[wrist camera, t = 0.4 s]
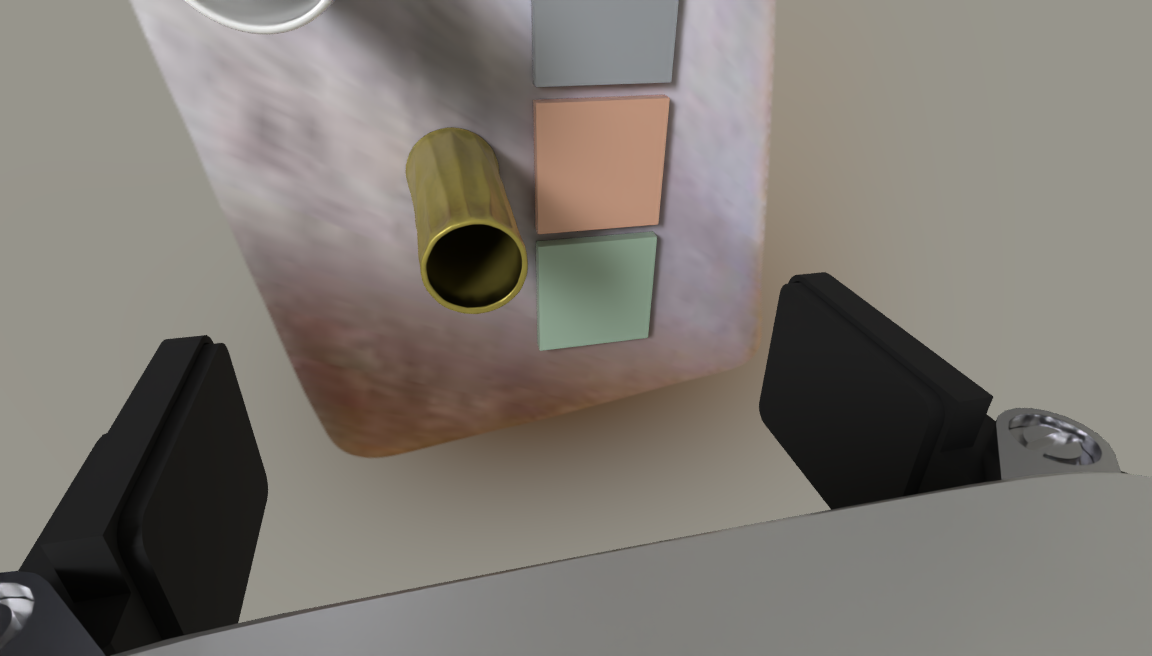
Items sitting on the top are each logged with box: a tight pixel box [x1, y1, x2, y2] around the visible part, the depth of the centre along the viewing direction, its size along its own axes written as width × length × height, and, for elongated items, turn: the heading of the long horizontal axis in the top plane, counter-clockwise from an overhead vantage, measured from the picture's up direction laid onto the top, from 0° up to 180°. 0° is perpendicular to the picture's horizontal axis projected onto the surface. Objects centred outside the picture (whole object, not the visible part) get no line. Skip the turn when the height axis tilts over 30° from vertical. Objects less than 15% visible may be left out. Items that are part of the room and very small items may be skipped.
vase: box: [406, 127, 528, 314], centre depth 37 cm, size 6×6×14 cm
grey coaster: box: [531, 0, 679, 87], centre depth 39 cm, size 9×9×1 cm
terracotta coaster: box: [533, 95, 670, 234], centre depth 45 cm, size 9×9×1 cm
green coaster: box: [536, 231, 657, 351], centre depth 50 cm, size 9×9×1 cm
